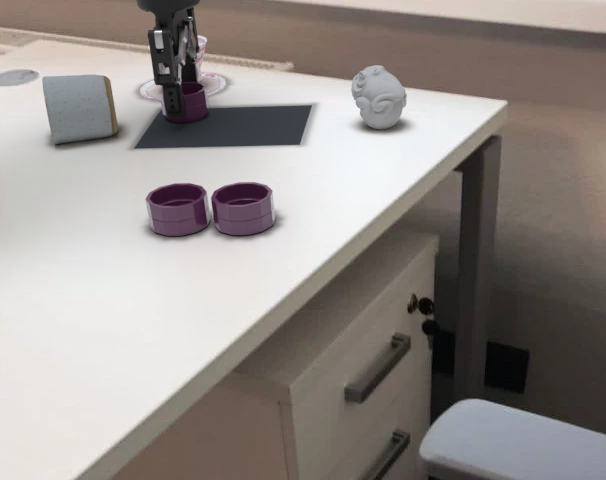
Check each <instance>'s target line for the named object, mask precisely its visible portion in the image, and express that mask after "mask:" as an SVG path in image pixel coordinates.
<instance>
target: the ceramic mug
mask: <svg viewBox="0 0 606 480" xmlns="http://www.w3.org/2000/svg"><path fill="white" fill-rule="evenodd" d="M42 92H43V98H44V103H45V109H46V114H47V118H48V124H49V130H50V134H51V139H52V141H53V144H54V145H59V144H61V145H62V144H66V143H67V144H68V143H75V142H83V141H89V140H97V139H104V138H107V137H112V136H115V135H116V134H117V133H118V131H119V127H118V120H117V119H118V118H117V114H116V106H115V101H114V100H115V99H114V95H113V88H112V83H111V79H110V78H109V77H108V76H107V75H102V74H96V73H95V74H79V75H77V74H75V75H50V76H48V75H46V76H42Z"/></svg>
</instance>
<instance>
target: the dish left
mask: <svg viewBox="0 0 606 480" xmlns="http://www.w3.org/2000/svg"><path fill="white" fill-rule="evenodd" d="M181 85H182V92H183V99H184V106H185V114H184V116H183V117H168V116H167V113H166V107H165V100H164V94H163V88H162V87H161V88H160V90H159V91H158V92H159V99H161V101H160V104H161V109H162V111H163V115H164V116H165V117H166V118H167V119H168V120H169V121H171V122H176V123H187V122H194V121H197V120H200V119H202V118H204V117H205V116H206V115H207V113H208V111H209V110H210V108H211V107H210V101H209V100H210V99H209V96H208V93H209V91H208V86H207V85H206V84H205V83H203V82H201V81H200V82H194V81H193V82H181Z"/></svg>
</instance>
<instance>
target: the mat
mask: <svg viewBox="0 0 606 480" xmlns="http://www.w3.org/2000/svg"><path fill="white" fill-rule="evenodd" d="M209 108H210V110H209V111H208V113H207V115H206V116H205V117H204V118H202V119H200V120H197V121H194V122H187V123H176V122H171V121H169V120H168V119H167V118H166V117H165V116H164V115H163V111H162V108H161V109H160V110H159V112H158V113H157V114H156V116H155V117H154V119H153V120H152V122H151V123H150V124H149V126H148V128H147V129H145V132H144V133H143V135H142V136H141V137H140V139H139V140H138V142H137V143H136V144H135V146H134V147H133V150H134V149H135V150H137V149H176V148H178V149H179V148H181V149H182V148H183V149H184V148H219V147H220V148H221V147H222V148H223V147H224V148H225V147H226V148H227V147H229V148H230V147H263V146H264V147H265V146H266V147H267V146H268V147H269V146H270V147H271V146H300V145H301V142H302V139H303V136H304V133H305V129H306V126H307V123H308V120H309V117H310V114H311V110H312V108H313V104H304V105H299V104H298V105H269V106H267V105H266V106H235V107H233V106H231V107H230V106H229V107H209Z"/></svg>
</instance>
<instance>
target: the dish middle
mask: <svg viewBox="0 0 606 480" xmlns="http://www.w3.org/2000/svg"><path fill="white" fill-rule="evenodd" d="M144 201H145V204H146V205H145V206H146V209H147V215H148V221H149V226H150V228H151V230H153V233H156V234H159V235H162V236H166V237H182V236H186V235H190V234H195V233H198V232H199V231H201V230H203V229H205V228H207V227H208V225H209V224H210V221H211V212H210V206H209V204H210V203H209V198H208V191H207V190H206V189H205V187H203V186H202V185H198V184H196V183H195V184H194V183H190V182H184V183H183V182H182V183H181V182H180V183H178V182H177V183H176V182H175V183H171V184H166V185H162V186H159V187H157V188H155V189H153V190H151V191H149V192H148V194H147V196H146V197H145V200H144Z"/></svg>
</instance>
